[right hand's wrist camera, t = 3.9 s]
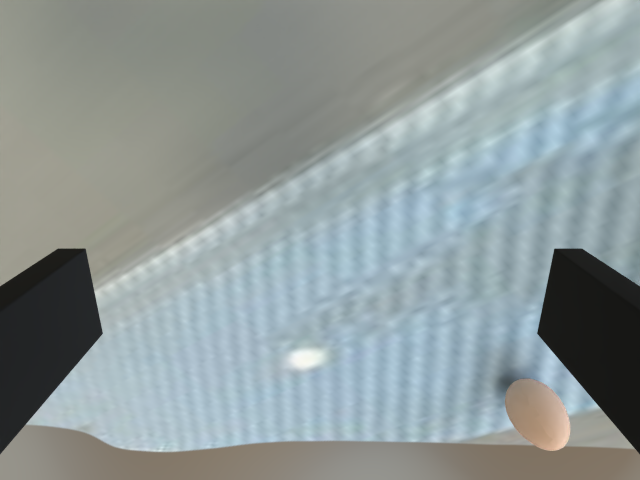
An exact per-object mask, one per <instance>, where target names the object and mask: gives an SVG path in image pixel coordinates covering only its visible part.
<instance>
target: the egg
mask: <svg viewBox="0 0 640 480" xmlns="http://www.w3.org/2000/svg"><path fill="white" fill-rule="evenodd" d="M505 407H506V411H507V414H508V416H509V419H510V421H511V422H512V424H513V425H514V427H515V428H516V430H517V431H518V432H519V433H520V434H521V435H522V436H523V437H524V438H525V439H527V440H528V441H529V442H531V443H532V444H534V445H535V446H537V447H539V448H541V449H545V450H550V451H552V450H558V449H561V448H563V447H564V446H565V444H566V443H567V442H568V440H569V436H570V423H569V417H568V414H567V411H566V408H565V407H564V405H563V403H562V401H561V400H560V399H559V397H558V396H557V395H556V393H555V392H554V391H553V390H552V389H550V388H549V387H548V386H547V385H545V384H543V383H542V382H539V381H537V380H533V379H519V380H516V381H514V382H513V383H512V384H511V385H510V386H509V388H508V390H507V392H506V397H505Z"/></svg>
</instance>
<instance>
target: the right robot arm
mask: <svg viewBox="0 0 640 480" xmlns="http://www.w3.org/2000/svg"><path fill="white" fill-rule="evenodd" d="M102 334H103V333H102V328H101V323H100V318H99V313H98V308H97V303H96V298H95V293H94V288H93V283H92V278H91V273H90V268H89V264H88V259H87V254H86V249H57V250H55V251H54V252H52V253H51V254H49V255H48V256H46V257H45V258H43V259H42V260H40V261H38V262H37V263H35V264H34V265H32V266H31V267H29V268H28V269H26V270H25V271H23V272H22V273H20V274H19V275H17V276H15V277H14V278H12V279H11V280H9V281H8V282H6V283H5V284H3V285H2V286H0V454H1V453H2V451H3V450H4V449H5V448H6V447H7V446H8V444H9V443H10V442H11V441H12V440H13V438H14V437H15V436H16V435H17V434H18V433H19V431H20V430H21V429H22V428H23V427H24V426H25V424H26V423H27V422H28V421H29V420H30V418H31V417H32V416H33V415H34V414H35V413H36V411H37V410H38V409H39V408H40V407H41V406H42V404H43V403H44V402H45V401H46V400H47V399H48V397H49V396H50V395H51V394H52V393H53V391H54V390H55V389H56V388H57V387H58V386H59V384H60V383H61V382H62V381H63V380H64V379H65V377H66V376H67V375H68V374H69V373H70V371H71V370H72V369H73V368H74V367H75V366H76V364H77V363H78V362H79V361H80V360H81V359H82V357H83V356H84V355H85V354H86V353H87V351H88V350H89V349H90V348H91V347H92V346H93V344H94V343H95V342H96V341H97V340H98V339H99V337H100V336H101V335H102ZM537 334H538V335H539V336H540V337H541V339H542V340H543V341H544V342H545V343H546V344H547V346H548V347H549V348H550V349H551V350H552V351H553V353H554V354H555V355H556V356H557V357H558V359H559V360H560V361H561V362H562V363H563V364H564V366H565V367H566V368H567V369H568V370H569V371H570V373H571V374H572V375H573V376H574V377H575V379H576V380H577V381H578V382H579V383H580V384H581V386H582V387H583V388H584V389H585V390H586V391H587V393H588V394H589V395H590V396H591V397H592V399H593V400H594V401H595V402H596V403H597V404H598V406H599V407H600V408H601V409H602V410H603V411H604V413H605V414H606V415H607V416H608V417H609V418H610V420H611V421H612V422H613V423H614V424H615V426H616V427H617V428H618V429H619V430H620V431H621V433H622V434H623V435H624V436H625V437H626V438H627V440H628V441H629V442H630V443H631V444H632V446H633V447H634V448H635V449H636V450H637V451H638V452H639V454H640V286H638V285H637V284H635V283H634V282H632V281H631V280H629V279H628V278H626V277H625V276H623V275H621V274H620V273H618V272H617V271H615V270H614V269H612V268H611V267H609V266H608V265H606V264H605V263H603V262H602V261H600V260H598V259H597V258H595V257H594V256H592V255H591V254H589V253H588V252H586V251H585V250H583V249H554V254H553V259H552V264H551V268H550V273H549V278H548V283H547V288H546V293H545V298H544V303H543V308H542V313H541V318H540V323H539V328H538V333H537Z"/></svg>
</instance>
